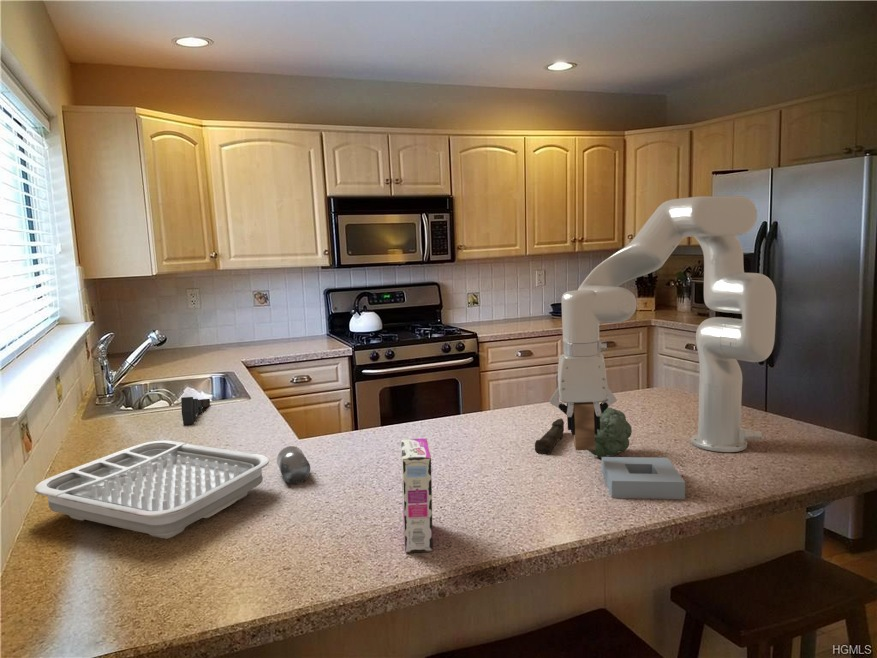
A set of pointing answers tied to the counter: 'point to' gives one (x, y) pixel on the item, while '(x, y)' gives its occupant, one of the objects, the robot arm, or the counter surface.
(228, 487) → the dish rack
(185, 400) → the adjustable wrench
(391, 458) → the counter surface
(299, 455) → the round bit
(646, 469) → the socket block
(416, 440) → the candy bar box
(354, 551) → the counter surface
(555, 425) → the charcoal colored rounded log
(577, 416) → the square bit
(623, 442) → the vegetable
